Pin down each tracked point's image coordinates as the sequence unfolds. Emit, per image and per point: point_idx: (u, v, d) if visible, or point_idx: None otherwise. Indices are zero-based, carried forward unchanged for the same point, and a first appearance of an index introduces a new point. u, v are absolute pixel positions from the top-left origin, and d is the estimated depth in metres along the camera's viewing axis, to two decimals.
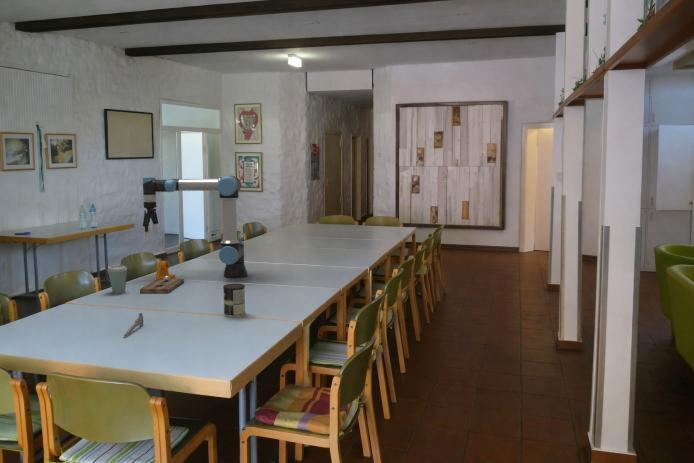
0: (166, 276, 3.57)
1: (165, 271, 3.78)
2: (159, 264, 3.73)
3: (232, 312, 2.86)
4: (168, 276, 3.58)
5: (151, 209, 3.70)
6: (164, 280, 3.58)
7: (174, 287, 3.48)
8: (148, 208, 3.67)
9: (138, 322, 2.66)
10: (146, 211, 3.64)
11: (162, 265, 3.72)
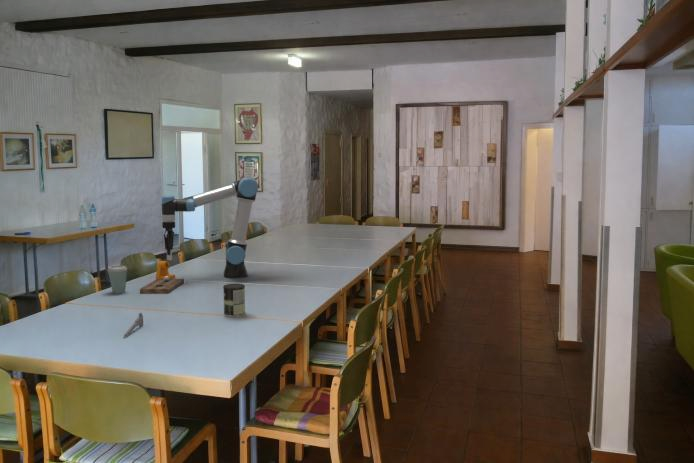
0: (166, 276, 3.57)
1: (165, 271, 3.78)
2: (159, 264, 3.73)
3: (232, 312, 2.86)
4: (168, 276, 3.58)
5: (169, 227, 3.61)
6: (164, 280, 3.58)
7: (174, 287, 3.48)
8: (167, 228, 3.59)
9: (138, 322, 2.66)
10: (165, 235, 3.57)
11: (162, 265, 3.72)
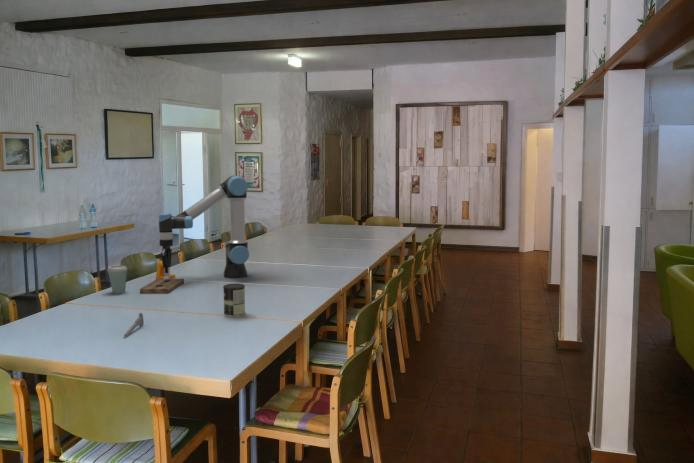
0: (166, 276, 3.57)
1: None
2: (159, 264, 3.73)
3: (232, 312, 2.86)
4: (168, 276, 3.58)
5: None
6: (164, 280, 3.58)
7: (174, 287, 3.48)
8: (164, 246, 3.55)
9: (138, 322, 2.66)
10: (163, 253, 3.53)
11: (162, 265, 3.72)
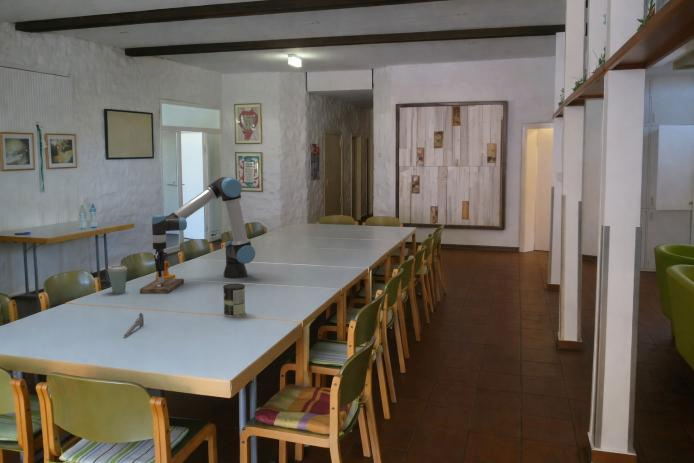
0: None
1: (165, 271, 3.78)
2: None
3: (232, 312, 2.86)
4: None
5: None
6: (157, 285, 3.46)
7: (174, 287, 3.48)
8: (157, 249, 3.43)
9: (138, 322, 2.66)
10: (156, 257, 3.41)
11: None
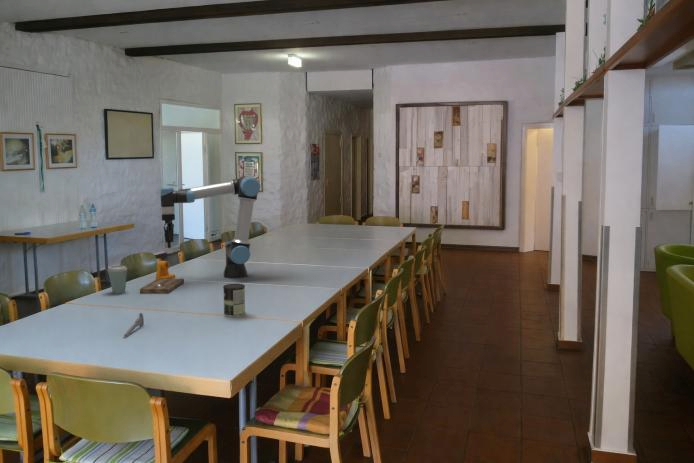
0: None
1: (165, 271, 3.78)
2: (159, 264, 3.73)
3: (232, 312, 2.86)
4: None
5: None
6: (157, 285, 3.46)
7: (174, 287, 3.48)
8: (167, 221, 3.52)
9: (138, 322, 2.66)
10: (165, 228, 3.50)
11: (162, 265, 3.72)
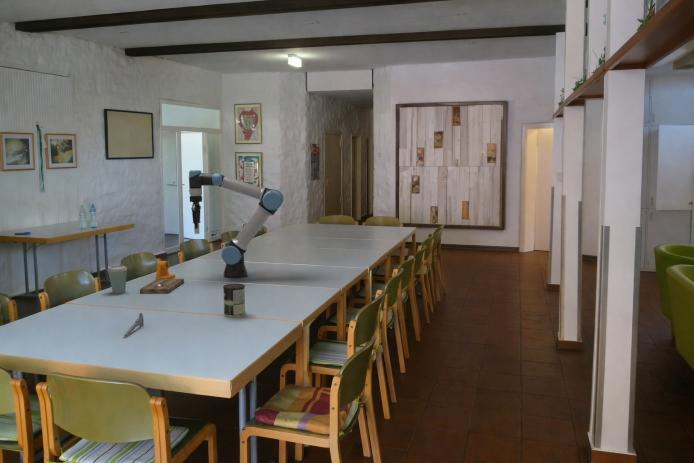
0: None
1: (165, 271, 3.78)
2: (159, 264, 3.73)
3: (232, 312, 2.86)
4: None
5: None
6: None
7: (174, 287, 3.48)
8: (194, 202, 3.64)
9: (138, 322, 2.66)
10: (193, 209, 3.62)
11: (162, 265, 3.72)
